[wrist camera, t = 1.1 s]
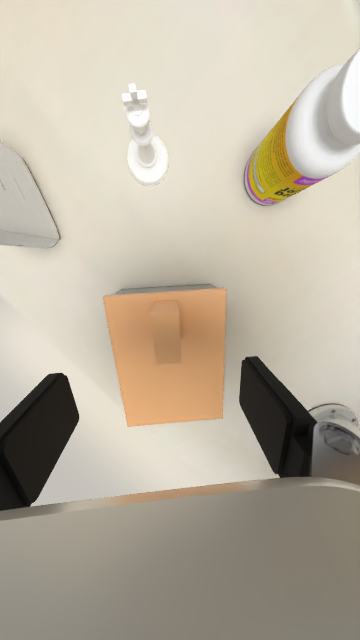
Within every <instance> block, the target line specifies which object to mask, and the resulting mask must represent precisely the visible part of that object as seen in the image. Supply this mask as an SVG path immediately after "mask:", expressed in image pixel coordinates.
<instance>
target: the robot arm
mask: <svg viewBox="0 0 360 640" xmlns="http://www.w3.org/2000/svg"><path fill="white" fill-rule="evenodd" d="M239 402H240V406H241V408H242V410H243V412H244V414H245V416H246V418H247V420H248V422H249V424H250V426H251V428H252V430H253V432H254V434H255V436H256V438H257V440H258V442H259V444H260V446H261V448H262V450H263V452H264V454H265V456H266V458H267V460H268V462H269V464H270V466H271V468H272V470H273V472H274V473H275V474H278V475H279V477H280V478H275V479H264V480H253V481H243V482H234V483H225V484H216V485H207V486H200V487H190V488H181V489H173V490H164V491H156V492H147V493H138V494H130V495H122V496H114V497H105V498H97V499H89V500H81V501H73V502H65V503H57V504H49V505H41V506H33V507H30V505H31V504H32V503H33V502H35V501H36V500H37V498H38V497H39V495H40V492H41V491H42V489H43V487H44V485H45V483H46V481H47V479H48V478H49V476H50V474H51V472H52V470H53V468H54V466H55V464H56V463H57V461H58V459H59V457H60V455H61V453H62V451H63V449H64V448H65V446H66V444H67V442H68V440H69V438H70V436H71V434H72V433H73V431H74V429H75V427H76V425H77V423H78V421H79V413H78V410H77V407H76V403H75V400H74V397H73V394H72V391H71V387H70V384H69V381H68V378H67V376H66V375H64V374H63V373H54V374H49V375H47V376H46V377H45V378H44V379H43V380H42V381H41V382H40V383H39V384H38V385H37V386H36V387H35V388H34V389H33V390H32V391H31V392H30V393H29V394H28V395H27V396H26V397H25V398H24V399H23V400H22V401H21V402H20V404H18V405H17V406H16V407H15V408H14V409H13V410H12V411H11V412H10V413H9V414H8V415H7V416H6V417H5V418H4V419H3V420H2V421H1V422H0V640H360V429H358V420H357V417H356V416H355V414H354V413H353V412H352V411H351V410H349V409H348V408H346V407H345V406H341V405H335V404H332V405H324V406H320V407H318V408H315V409H313V410H311V411H310V412H308V411H307V410H306V409H305V408H304V407H303V406H302V404H301V403H300V402H299V401H298V400H297V399H296V398H295V397H294V396H293V395H292V393H291V392H290V391H289V390H288V389H287V388H286V387H285V386H284V385H283V384H282V382H280V381H279V380H278V379H277V378H276V377H275V375H274V374H273V373H272V372H271V371H270V370H269V369H268V368H267V367H266V366H265V364H264V363H263V362H262V361H261V360H260V359H259V358H258V357H257V356H253V357H246V358H245V360H242V367H241V382H240V396H239Z"/></svg>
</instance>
